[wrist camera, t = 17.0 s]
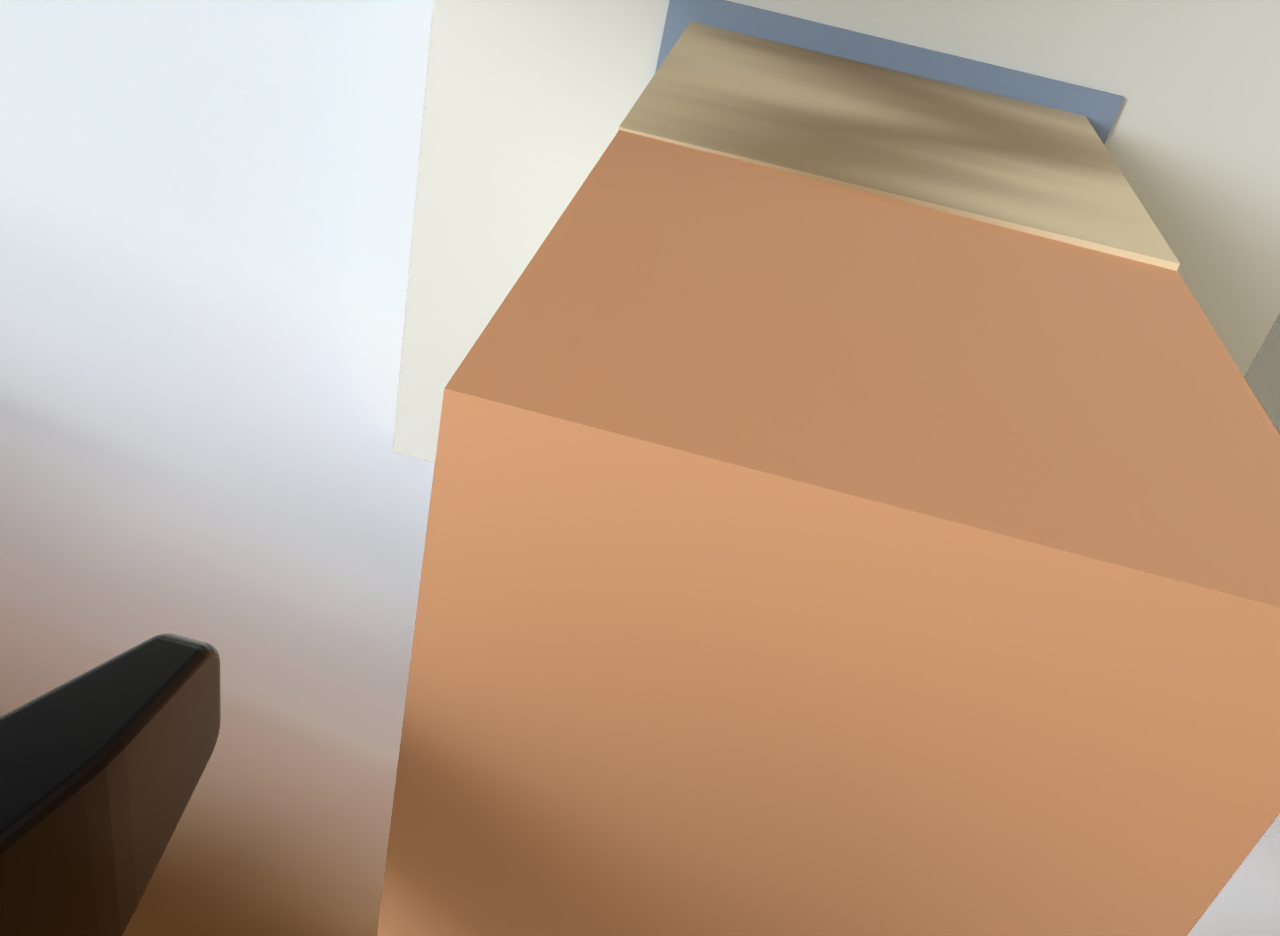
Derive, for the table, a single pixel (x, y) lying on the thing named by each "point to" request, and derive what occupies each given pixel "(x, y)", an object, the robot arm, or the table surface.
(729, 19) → the cream flat panel
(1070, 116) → the birch cube
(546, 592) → the terracotta cube
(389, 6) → the table surface
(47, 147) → the table surface
